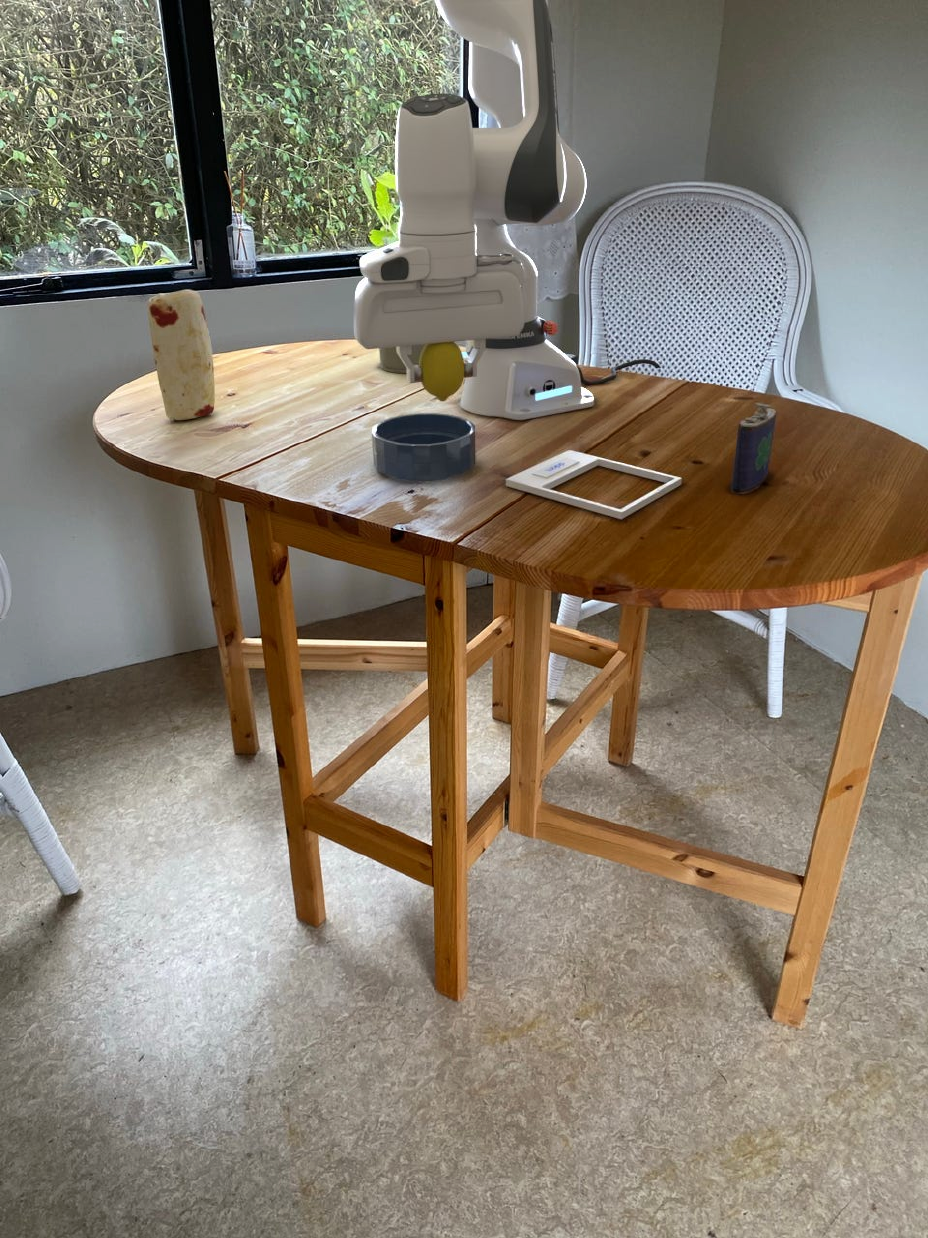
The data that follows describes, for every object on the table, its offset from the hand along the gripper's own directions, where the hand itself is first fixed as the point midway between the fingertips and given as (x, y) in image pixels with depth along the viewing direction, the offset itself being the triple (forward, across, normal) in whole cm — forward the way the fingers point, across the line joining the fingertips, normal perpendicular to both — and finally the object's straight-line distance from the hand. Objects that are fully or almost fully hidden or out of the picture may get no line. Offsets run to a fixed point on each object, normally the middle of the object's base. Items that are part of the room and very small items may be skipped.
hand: (441, 379), depth 112 cm
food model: (+16, +30, -48) cm, 59 cm away
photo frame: (+15, -20, +3) cm, 25 cm away
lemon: (+3, 0, 0) cm, 3 cm away
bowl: (+15, -1, -12) cm, 20 cm away
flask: (+16, -40, +9) cm, 44 cm away
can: (+16, -12, -67) cm, 70 cm away
